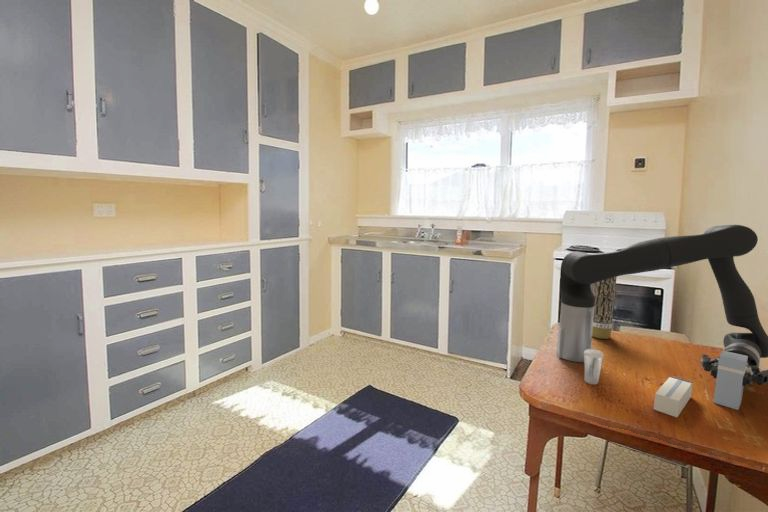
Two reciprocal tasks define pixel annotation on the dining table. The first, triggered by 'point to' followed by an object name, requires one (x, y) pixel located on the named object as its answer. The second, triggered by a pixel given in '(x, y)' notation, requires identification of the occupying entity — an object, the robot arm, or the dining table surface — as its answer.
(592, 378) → the milkshake
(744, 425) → the dining table surface
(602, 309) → the paper tube
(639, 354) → the dining table surface
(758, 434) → the dining table surface
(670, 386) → the white striped box
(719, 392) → the tall grey box
